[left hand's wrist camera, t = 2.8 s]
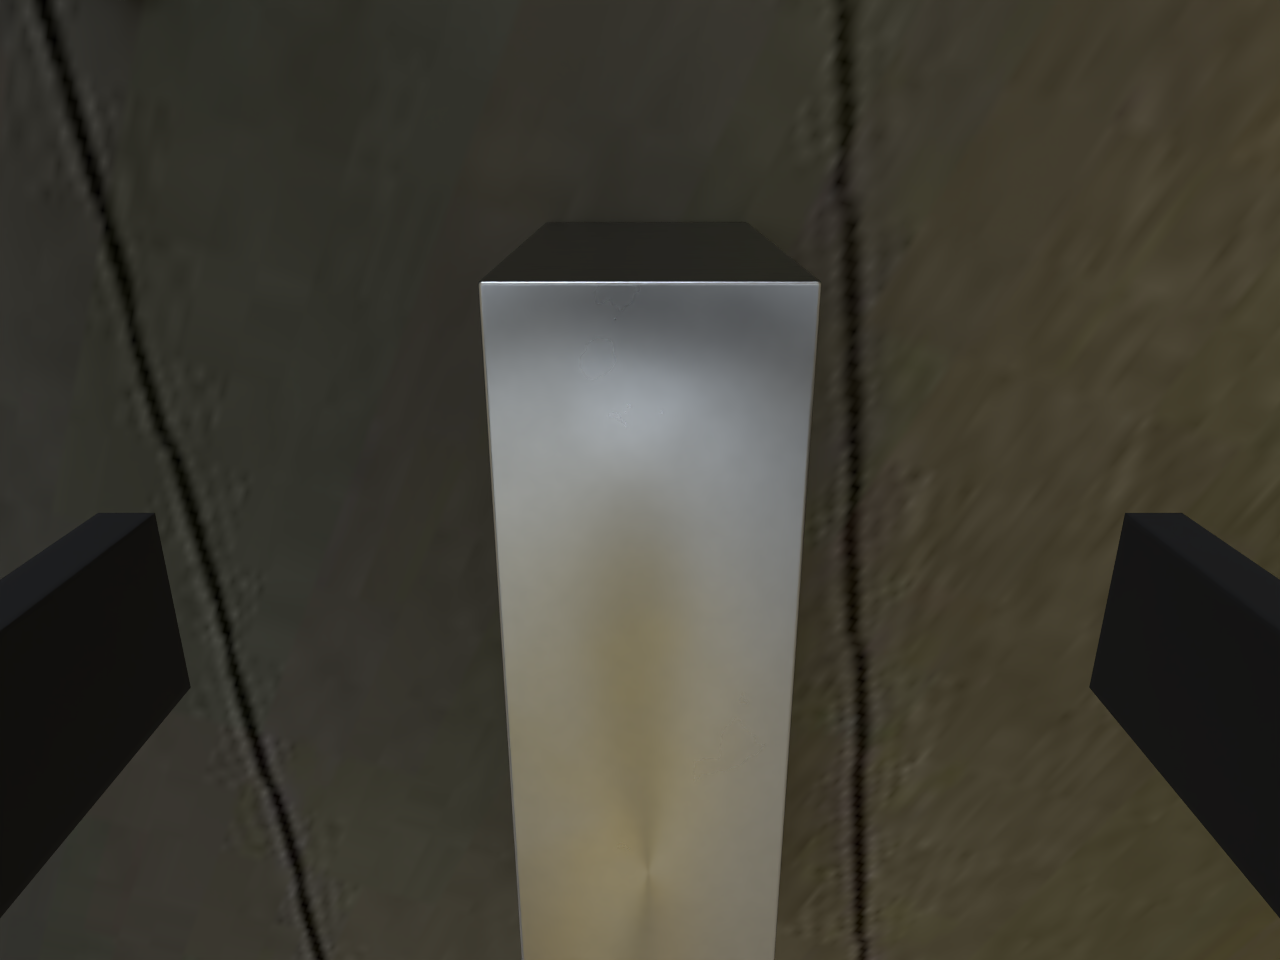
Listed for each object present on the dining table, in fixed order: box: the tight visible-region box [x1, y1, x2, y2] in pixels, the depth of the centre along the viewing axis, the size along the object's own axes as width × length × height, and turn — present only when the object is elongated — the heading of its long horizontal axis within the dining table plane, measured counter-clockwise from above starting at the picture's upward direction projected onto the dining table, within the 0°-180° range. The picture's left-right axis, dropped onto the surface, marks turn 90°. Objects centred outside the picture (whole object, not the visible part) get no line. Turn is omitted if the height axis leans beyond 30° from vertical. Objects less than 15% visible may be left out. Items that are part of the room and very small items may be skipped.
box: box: [478, 222, 822, 960], centre depth 26 cm, size 26×6×12 cm, turn 0°
